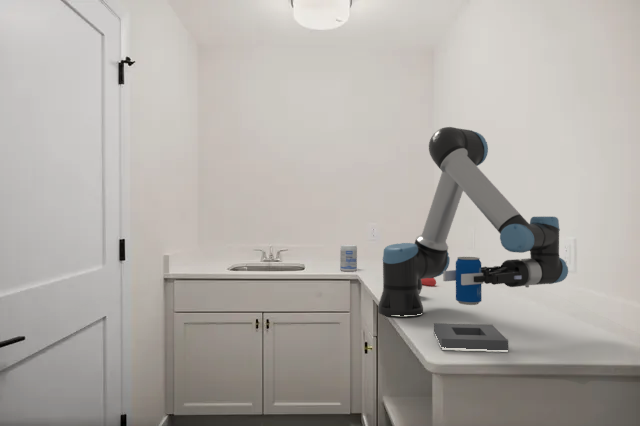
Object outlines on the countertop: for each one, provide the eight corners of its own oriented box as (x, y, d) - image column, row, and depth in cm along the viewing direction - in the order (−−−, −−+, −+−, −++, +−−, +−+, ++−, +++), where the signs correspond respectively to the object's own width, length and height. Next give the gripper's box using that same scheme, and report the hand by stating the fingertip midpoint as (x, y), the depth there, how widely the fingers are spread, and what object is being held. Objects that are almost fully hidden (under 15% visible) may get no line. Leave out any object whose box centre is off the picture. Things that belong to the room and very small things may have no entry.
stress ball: (423, 289, 212) (430, 278, 211) (414, 280, 220) (421, 268, 219) (432, 292, 214) (439, 281, 213) (423, 283, 222) (429, 272, 221)
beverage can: (473, 306, 119) (472, 259, 119) (451, 303, 124) (450, 257, 123) (486, 303, 123) (486, 257, 123) (464, 299, 128) (464, 256, 128)
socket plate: (433, 333, 132) (433, 323, 132) (492, 335, 130) (492, 324, 130) (441, 350, 116) (441, 338, 116) (508, 352, 114) (508, 340, 114)
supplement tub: (347, 272, 262) (347, 246, 262) (337, 270, 270) (336, 245, 270) (360, 270, 268) (360, 245, 268) (349, 269, 276) (349, 244, 276)
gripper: (548, 291, 121) (479, 298, 112) (493, 281, 139) (430, 286, 130) (548, 262, 121) (479, 267, 112) (493, 256, 139) (430, 259, 130)
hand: (453, 277), depth 121 cm, fingers closed on beverage can, 6 cm apart
